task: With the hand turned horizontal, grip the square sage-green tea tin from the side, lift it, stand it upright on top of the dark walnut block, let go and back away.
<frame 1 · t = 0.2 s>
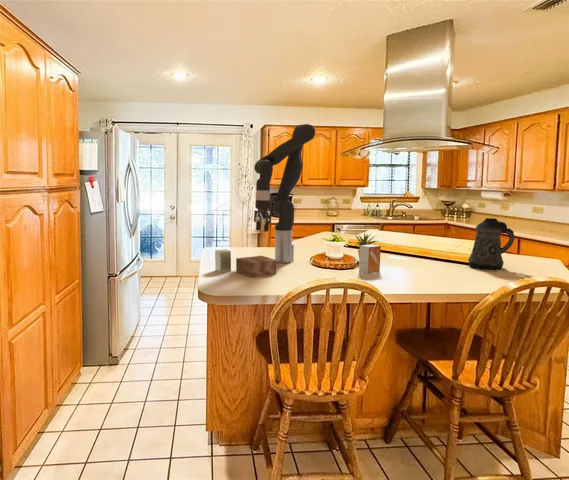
hand: (262, 230, 234), 18 cm above the countertop, tool pointing down, fingers open, 8 cm apart
house plant: (363, 262, 243), on the countertop
beer stein: (488, 267, 231), on the countertop
small box: (369, 272, 219), on the countertop
walnut block: (256, 273, 216), on the countertop
sage tea tin: (223, 270, 220), on the countertop
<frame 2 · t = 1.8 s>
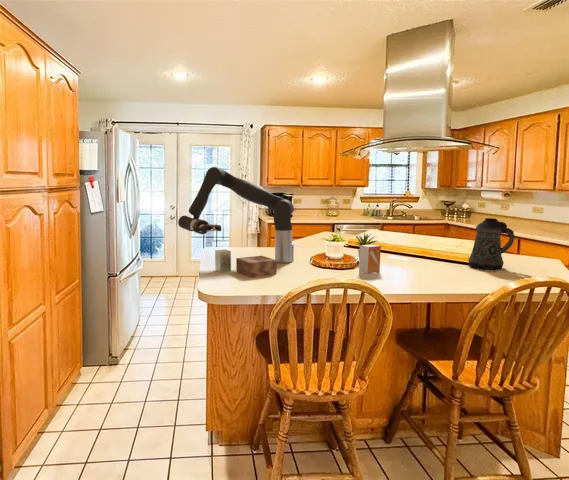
hand: (212, 229, 227), 19 cm above the countertop, tool horizontal, fingers open, 8 cm apart
nothing on the countertop moved.
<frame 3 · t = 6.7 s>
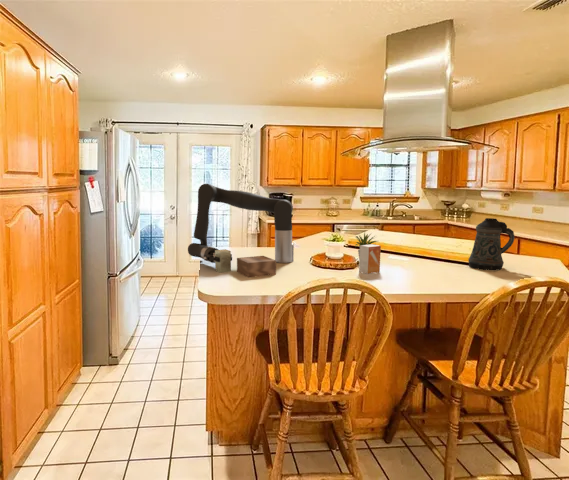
hand: (225, 259, 217), 6 cm above the countertop, tool horizontal, fingers closed on sage tea tin, 5 cm apart
sage tea tin: (223, 270, 220), on the countertop, touching gripper
everything else where it was.
when the fingers open (14 cm above the countertop, at t = 13.0 s): sage tea tin drops 1 cm, point 7 cm above the countertop.
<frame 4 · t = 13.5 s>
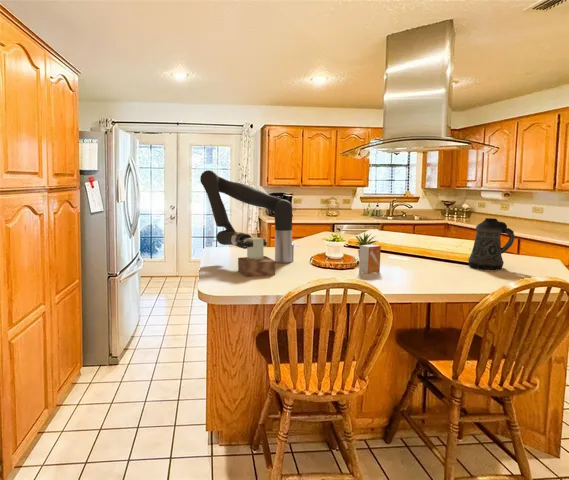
hand: (258, 244, 212), 14 cm above the countertop, tool horizontal, fingers open, 8 cm apart
sage tea tin: (255, 259, 215), point 7 cm above the countertop
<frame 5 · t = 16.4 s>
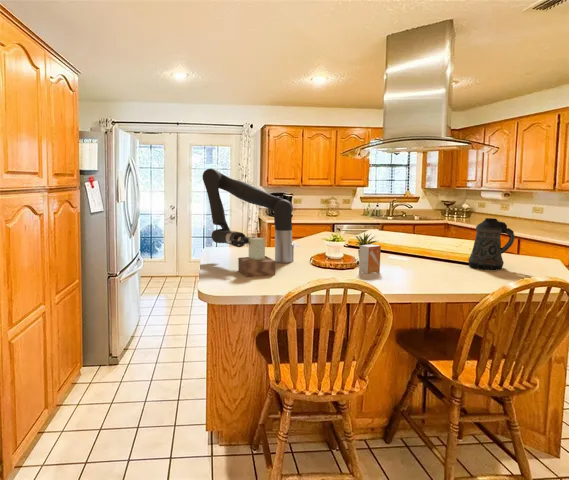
hand: (251, 242, 217), 14 cm above the countertop, tool horizontal, fingers open, 8 cm apart
walnut block: (256, 273, 216), on the countertop, touching sage tea tin
sage tea tin: (256, 259, 214), point 7 cm above the countertop, touching walnut block
everything else where it was.
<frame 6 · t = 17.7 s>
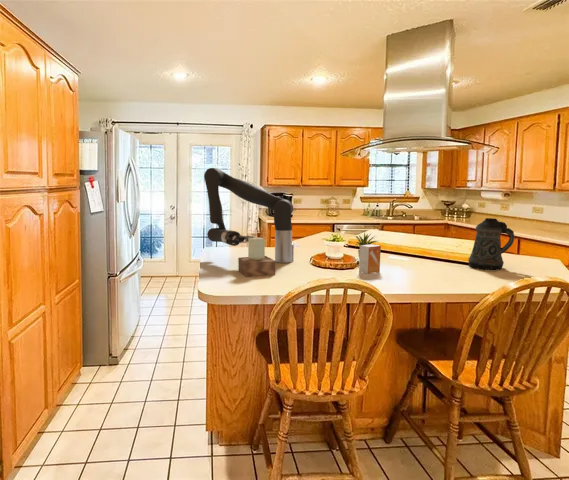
hand: (246, 241, 221), 14 cm above the countertop, tool horizontal, fingers open, 8 cm apart
nothing on the countertop moved.
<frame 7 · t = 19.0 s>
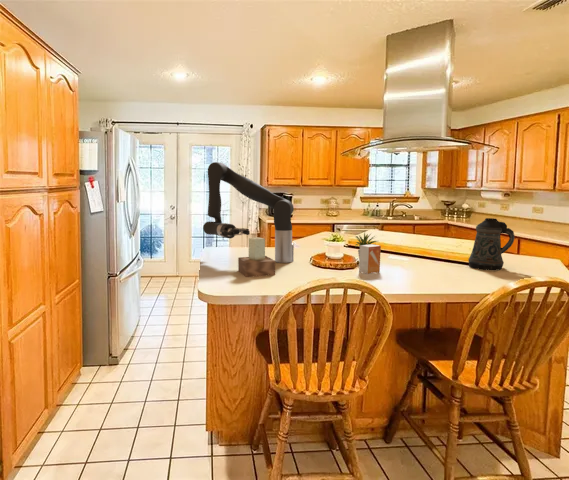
hand: (241, 233, 224), 18 cm above the countertop, tool horizontal, fingers open, 8 cm apart
nothing on the countertop moved.
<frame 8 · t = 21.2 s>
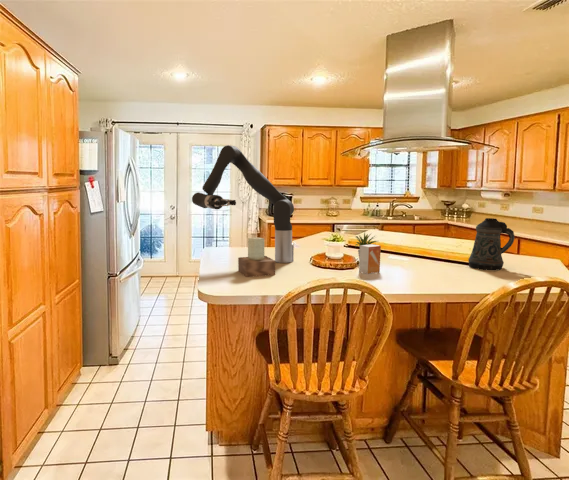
hand: (227, 203, 228), 32 cm above the countertop, tool horizontal, fingers open, 8 cm apart
nothing on the countertop moved.
at the end: sage tea tin inside the target area on the walnut block (0.2 cm from its centre), point 7.0 cm above the walnut block's base; sage tea tin tilted 1°; the gripper is holding nothing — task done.
